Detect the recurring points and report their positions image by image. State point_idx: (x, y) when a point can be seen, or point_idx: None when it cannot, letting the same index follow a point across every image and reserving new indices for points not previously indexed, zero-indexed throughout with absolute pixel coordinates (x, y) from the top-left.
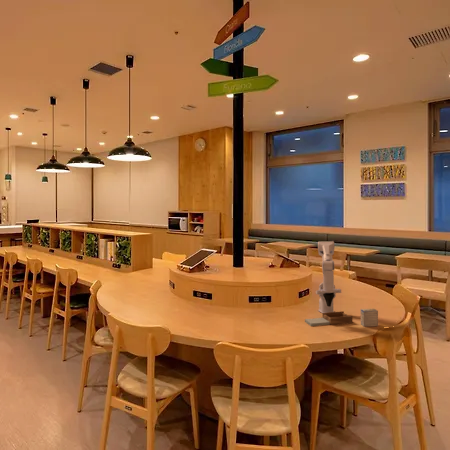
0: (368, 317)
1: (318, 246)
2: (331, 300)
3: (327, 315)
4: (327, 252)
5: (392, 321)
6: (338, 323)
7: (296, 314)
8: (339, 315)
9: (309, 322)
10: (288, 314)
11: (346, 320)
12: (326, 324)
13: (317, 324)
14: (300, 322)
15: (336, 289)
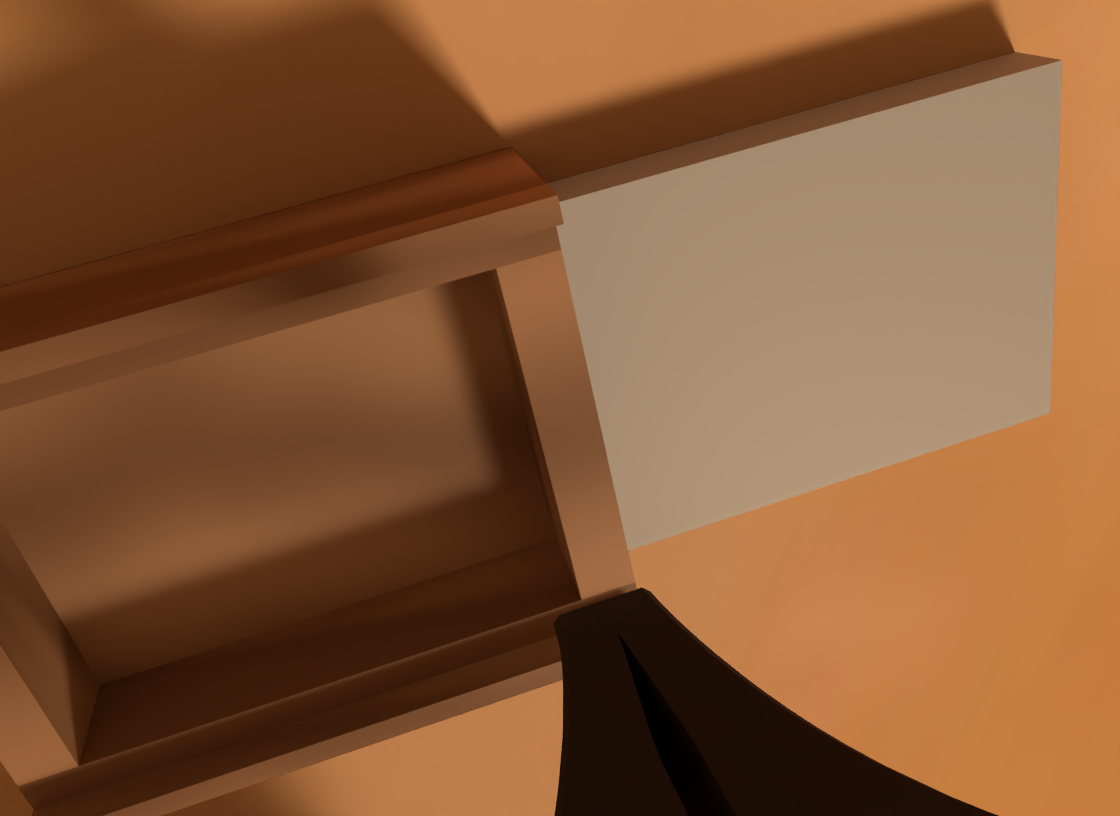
0: None
1: None
2: (606, 788)
3: (519, 603)
4: None
5: None
6: (286, 215)
7: (977, 794)
8: (177, 698)
9: (1058, 159)
10: (1100, 774)
11: (10, 307)
12: (622, 166)
13: (871, 102)
14: (1109, 340)
15: None
